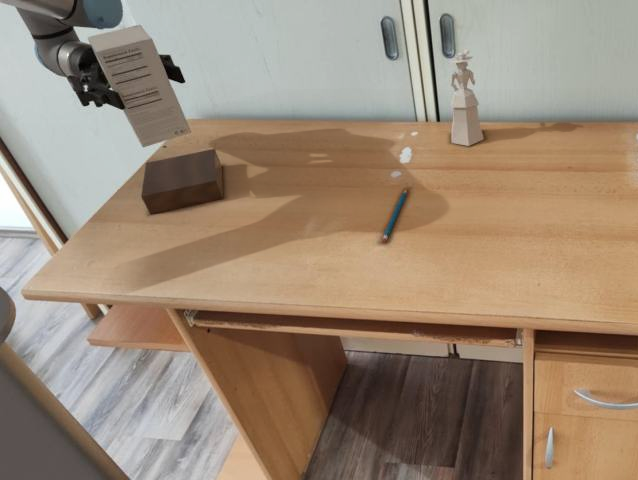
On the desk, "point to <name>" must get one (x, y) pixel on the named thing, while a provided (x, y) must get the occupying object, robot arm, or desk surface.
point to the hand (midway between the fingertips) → (151, 88)
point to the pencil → (394, 217)
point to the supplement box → (140, 84)
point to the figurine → (464, 105)
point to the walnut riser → (182, 181)
